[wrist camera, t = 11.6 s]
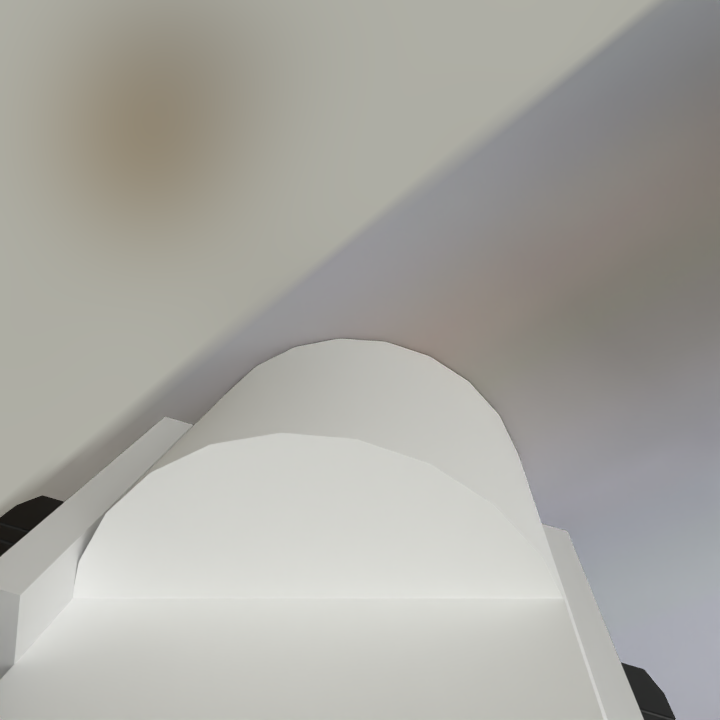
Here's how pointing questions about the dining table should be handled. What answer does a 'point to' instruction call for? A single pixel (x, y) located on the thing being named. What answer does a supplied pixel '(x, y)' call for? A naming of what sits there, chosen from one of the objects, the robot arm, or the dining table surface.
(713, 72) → the dining table surface
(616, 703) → the robot arm
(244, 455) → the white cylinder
